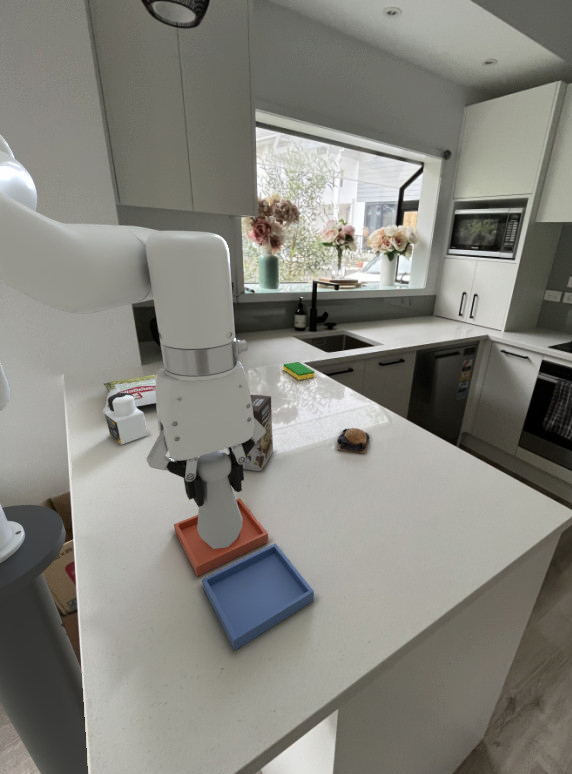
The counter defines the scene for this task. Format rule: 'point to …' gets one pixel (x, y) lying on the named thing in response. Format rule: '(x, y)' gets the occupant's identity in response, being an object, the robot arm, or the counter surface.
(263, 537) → the red tray
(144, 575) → the counter surface
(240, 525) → the salt shaker
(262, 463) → the coffee box
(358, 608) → the counter surface
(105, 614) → the counter surface
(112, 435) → the medicine bottle
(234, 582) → the blue tray
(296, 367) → the dish sponge
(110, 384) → the frozen beans
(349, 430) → the burger
